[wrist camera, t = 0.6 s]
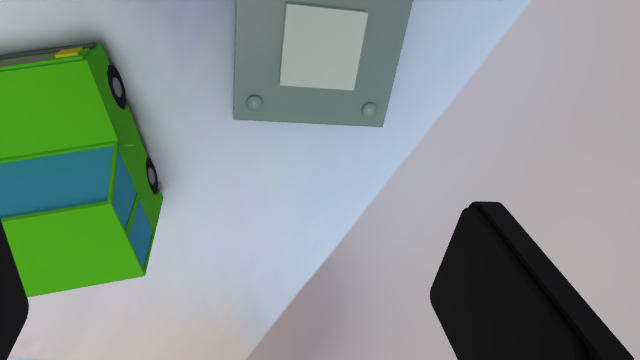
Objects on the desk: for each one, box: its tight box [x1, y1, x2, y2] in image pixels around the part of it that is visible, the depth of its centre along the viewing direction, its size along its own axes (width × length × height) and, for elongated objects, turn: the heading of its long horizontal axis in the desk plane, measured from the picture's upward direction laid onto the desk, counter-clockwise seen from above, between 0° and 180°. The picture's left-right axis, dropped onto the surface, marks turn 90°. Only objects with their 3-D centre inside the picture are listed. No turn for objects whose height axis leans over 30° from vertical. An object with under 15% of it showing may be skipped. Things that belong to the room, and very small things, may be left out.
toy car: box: [0, 43, 163, 297], centre depth 28 cm, size 10×13×10 cm
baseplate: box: [234, 0, 413, 127], centre depth 31 cm, size 12×12×2 cm
